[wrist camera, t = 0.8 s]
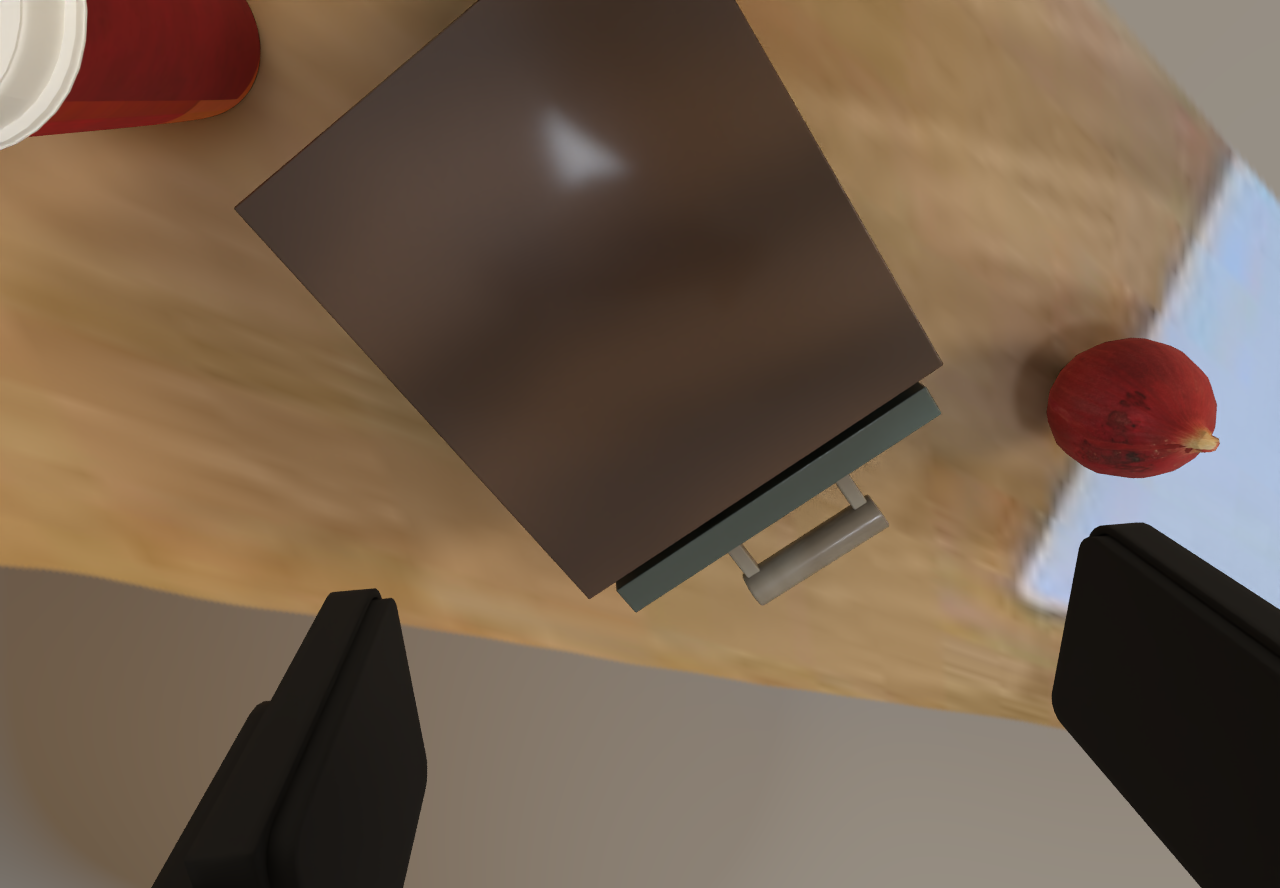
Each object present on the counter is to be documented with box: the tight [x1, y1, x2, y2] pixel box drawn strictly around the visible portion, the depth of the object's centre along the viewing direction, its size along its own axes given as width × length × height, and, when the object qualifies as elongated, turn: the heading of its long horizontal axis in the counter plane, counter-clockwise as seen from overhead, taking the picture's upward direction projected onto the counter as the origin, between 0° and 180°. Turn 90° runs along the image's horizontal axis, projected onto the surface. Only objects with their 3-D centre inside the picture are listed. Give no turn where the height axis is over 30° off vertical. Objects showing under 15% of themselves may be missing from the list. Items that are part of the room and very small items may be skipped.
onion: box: [1047, 338, 1220, 478], centre depth 32 cm, size 6×6×8 cm
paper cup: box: [0, 0, 260, 150], centre depth 21 cm, size 8×8×14 cm
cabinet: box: [234, 0, 943, 599], centre depth 27 cm, size 16×14×10 cm
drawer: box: [616, 382, 941, 612], centre depth 28 cm, size 19×13×8 cm, turn 36°
